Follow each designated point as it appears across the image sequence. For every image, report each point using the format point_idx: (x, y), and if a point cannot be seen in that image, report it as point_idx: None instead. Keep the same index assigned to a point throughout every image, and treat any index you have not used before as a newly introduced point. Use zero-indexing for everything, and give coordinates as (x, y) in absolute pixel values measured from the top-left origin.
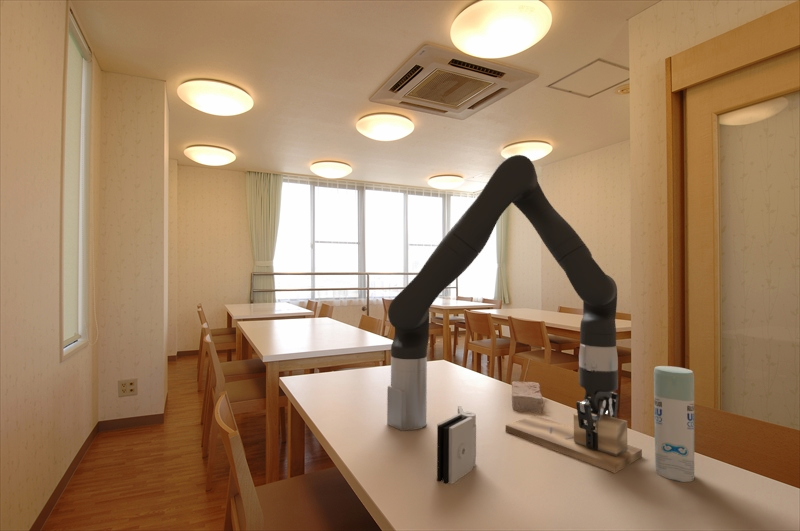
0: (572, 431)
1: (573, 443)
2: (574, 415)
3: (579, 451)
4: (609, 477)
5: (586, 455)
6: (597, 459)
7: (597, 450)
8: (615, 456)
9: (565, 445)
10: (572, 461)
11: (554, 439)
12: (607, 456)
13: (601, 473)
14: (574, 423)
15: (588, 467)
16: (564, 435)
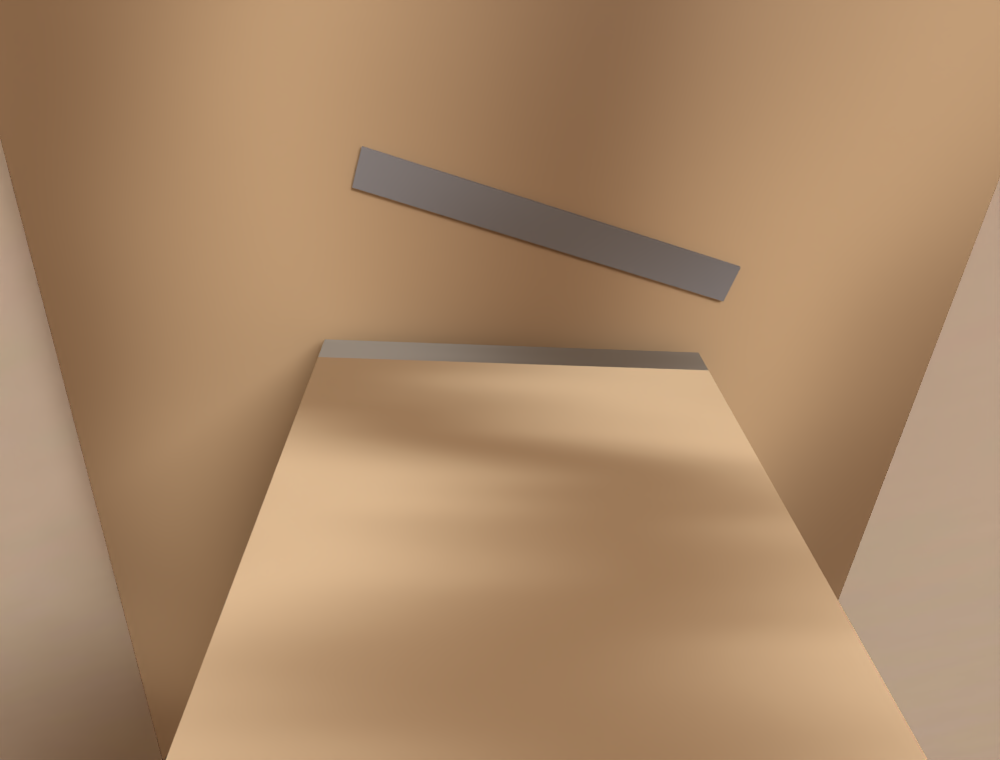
0: (828, 62)
1: (292, 342)
2: (176, 752)
3: (120, 506)
4: (76, 731)
5: (118, 583)
6: (148, 673)
7: None
8: None
9: (100, 305)
10: (12, 432)
11: (137, 36)
12: None
13: (75, 679)
14: (248, 564)
15: (64, 580)
16: (494, 65)
